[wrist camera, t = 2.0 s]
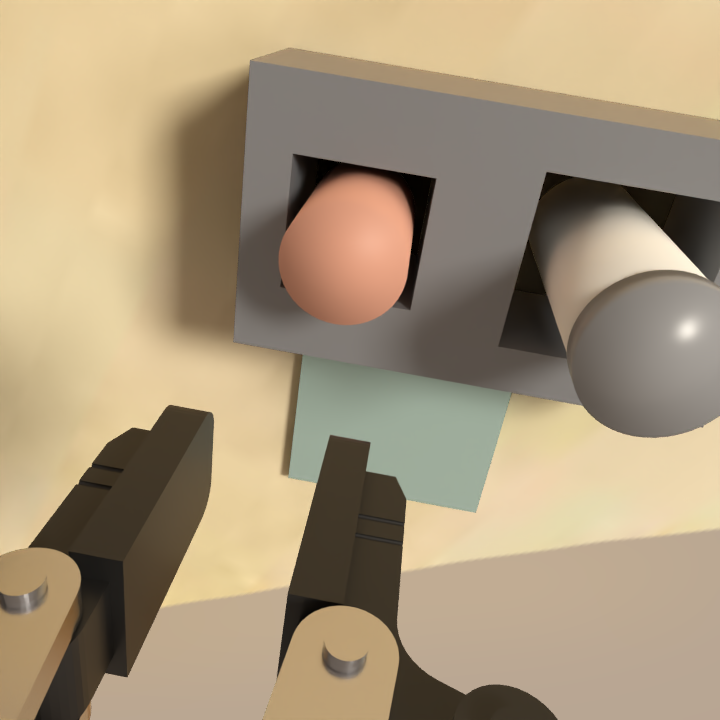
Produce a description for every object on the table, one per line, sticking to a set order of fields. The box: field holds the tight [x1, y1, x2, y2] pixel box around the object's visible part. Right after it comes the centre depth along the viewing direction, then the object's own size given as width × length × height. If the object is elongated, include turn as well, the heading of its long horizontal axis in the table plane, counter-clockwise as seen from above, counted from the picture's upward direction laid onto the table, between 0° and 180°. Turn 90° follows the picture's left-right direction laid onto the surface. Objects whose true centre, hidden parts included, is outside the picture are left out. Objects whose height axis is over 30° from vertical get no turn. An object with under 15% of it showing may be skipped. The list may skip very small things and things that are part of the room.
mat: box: [288, 355, 511, 513], centre depth 33 cm, size 10×9×1 cm
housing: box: [233, 48, 720, 427], centre depth 26 cm, size 18×10×6 cm, turn 82°
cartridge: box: [529, 177, 720, 438], centre depth 23 cm, size 5×5×12 cm
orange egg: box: [279, 162, 416, 325], centre depth 23 cm, size 4×4×6 cm
